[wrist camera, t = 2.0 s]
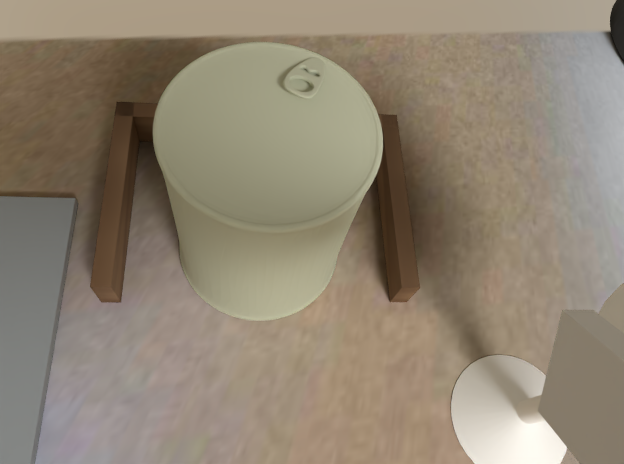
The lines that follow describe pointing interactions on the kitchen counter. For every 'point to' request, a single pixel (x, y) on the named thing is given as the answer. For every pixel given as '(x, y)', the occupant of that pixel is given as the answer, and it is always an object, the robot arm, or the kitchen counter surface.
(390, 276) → the walnut stall
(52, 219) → the slate tile
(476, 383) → the champagne flute
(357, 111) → the can
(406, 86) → the kitchen counter surface
